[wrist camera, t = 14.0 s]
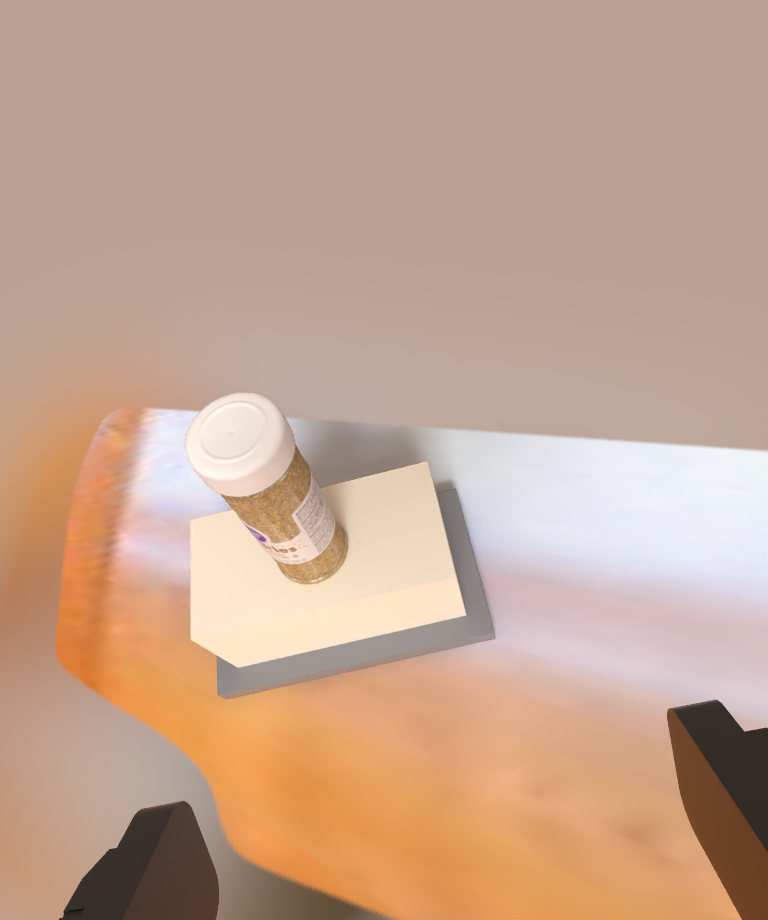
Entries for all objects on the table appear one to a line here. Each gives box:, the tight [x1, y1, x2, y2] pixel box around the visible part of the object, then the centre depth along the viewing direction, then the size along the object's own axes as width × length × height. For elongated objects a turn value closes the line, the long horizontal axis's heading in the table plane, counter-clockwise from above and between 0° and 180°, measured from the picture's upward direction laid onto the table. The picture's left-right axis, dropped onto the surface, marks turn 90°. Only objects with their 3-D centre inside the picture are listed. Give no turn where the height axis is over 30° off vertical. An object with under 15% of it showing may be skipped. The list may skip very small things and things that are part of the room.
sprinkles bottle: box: [185, 392, 348, 584], centre depth 33 cm, size 5×5×13 cm
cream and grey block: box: [191, 461, 495, 699], centre depth 42 cm, size 19×11×9 cm, turn 100°
